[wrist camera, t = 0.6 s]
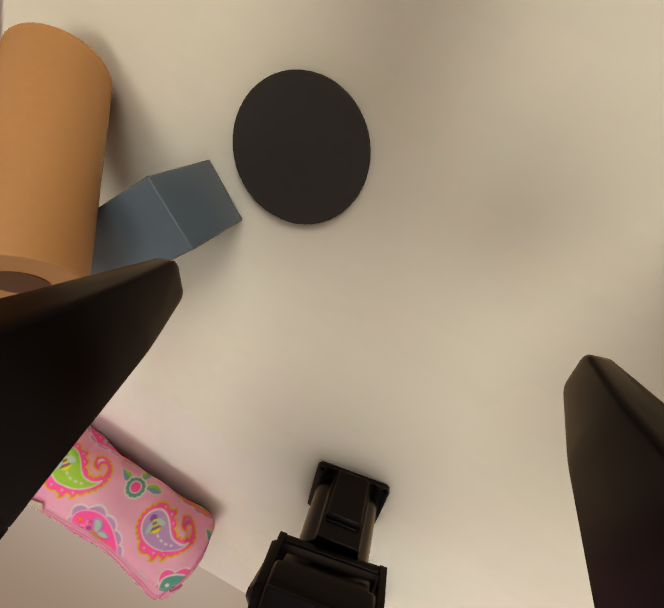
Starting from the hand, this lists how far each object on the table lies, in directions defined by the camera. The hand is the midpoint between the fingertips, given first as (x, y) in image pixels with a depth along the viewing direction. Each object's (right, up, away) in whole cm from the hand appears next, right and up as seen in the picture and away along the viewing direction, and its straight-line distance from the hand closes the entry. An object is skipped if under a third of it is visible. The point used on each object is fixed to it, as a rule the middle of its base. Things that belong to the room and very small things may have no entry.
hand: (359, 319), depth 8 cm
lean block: (-11, +6, +17) cm, 21 cm away
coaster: (-2, +9, +13) cm, 16 cm away
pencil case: (-22, -18, +34) cm, 44 cm away
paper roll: (-13, +10, +15) cm, 23 cm away
